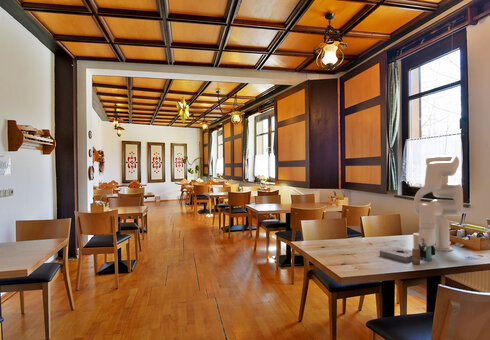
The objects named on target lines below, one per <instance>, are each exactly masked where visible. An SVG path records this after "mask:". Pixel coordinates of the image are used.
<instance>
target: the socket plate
mask: <svg viewBox="0 0 490 340" xmlns="http://www.w3.org/2000/svg"><path fill="white" fill-rule="evenodd" d="M379 257H383V258H387V259H391V260H395V261H398V262H403V263H406V264H407V263H410V262H411V263H412V249H407V248H402V247H397V246H392V247H388V248H385V249H381V250H379ZM420 259H423V258H422V257H420Z"/></svg>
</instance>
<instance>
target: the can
mask: <svg viewBox="0 0 490 340" xmlns="http://www.w3.org/2000/svg"><path fill="white" fill-rule="evenodd" d="M412 234H413V235H412V237H413V245H412V246H413V248H416V249H419V245H418V236H419V232H413V233H412ZM423 248H424V247H423Z"/></svg>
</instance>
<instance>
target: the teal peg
mask: <svg viewBox="0 0 490 340" xmlns="http://www.w3.org/2000/svg"><path fill="white" fill-rule="evenodd" d="M425 251H426V258H423V261H424V262H432V255H431V246H429V247H426V250H425Z"/></svg>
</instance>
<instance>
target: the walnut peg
mask: <svg viewBox="0 0 490 340" xmlns="http://www.w3.org/2000/svg"><path fill="white" fill-rule="evenodd" d="M411 250H412V261H411V263H412V265H415V266H420V265H421V258H420V249H416V248H414V247H413V248H412V249H411Z"/></svg>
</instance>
